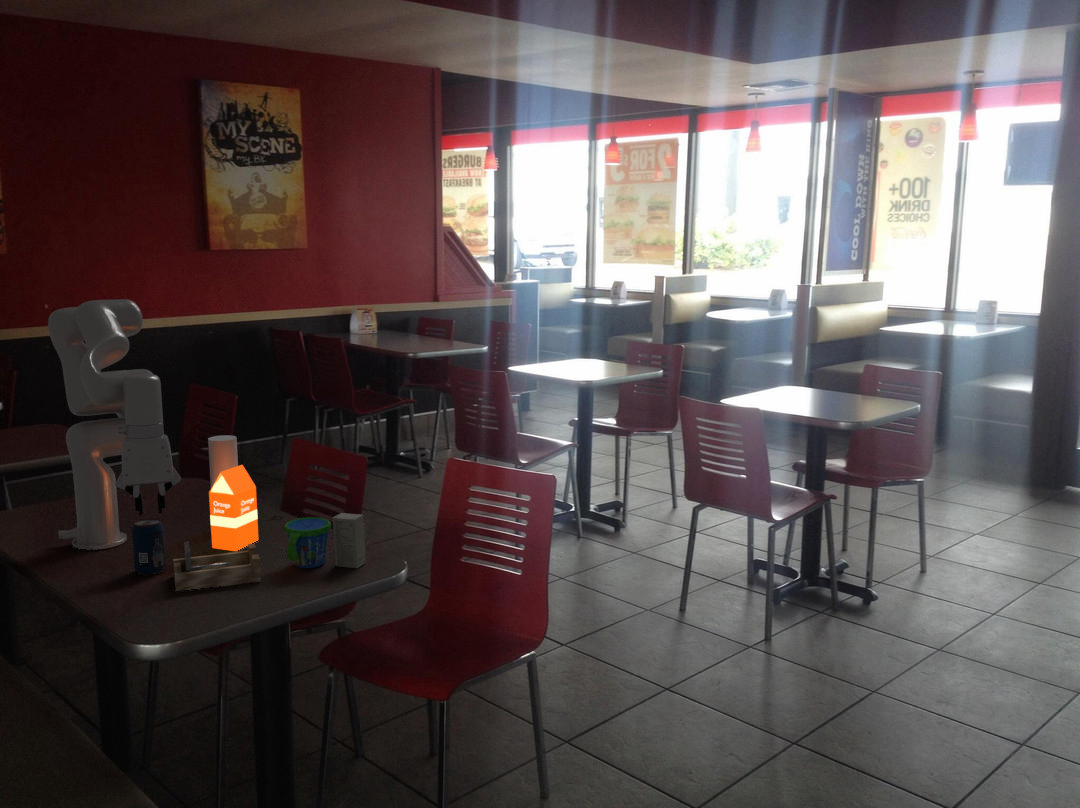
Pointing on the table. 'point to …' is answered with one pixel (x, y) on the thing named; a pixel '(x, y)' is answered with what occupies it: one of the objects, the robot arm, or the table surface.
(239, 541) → the orange juice
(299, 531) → the snack cup
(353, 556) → the skincare box
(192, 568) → the follower
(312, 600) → the table surface
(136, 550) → the soda can
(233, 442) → the cylindrical container
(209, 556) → the wooden tray
